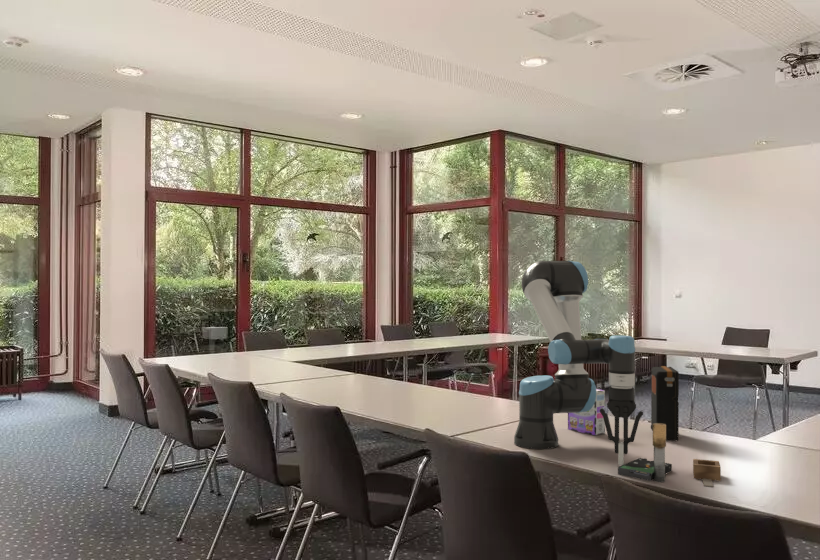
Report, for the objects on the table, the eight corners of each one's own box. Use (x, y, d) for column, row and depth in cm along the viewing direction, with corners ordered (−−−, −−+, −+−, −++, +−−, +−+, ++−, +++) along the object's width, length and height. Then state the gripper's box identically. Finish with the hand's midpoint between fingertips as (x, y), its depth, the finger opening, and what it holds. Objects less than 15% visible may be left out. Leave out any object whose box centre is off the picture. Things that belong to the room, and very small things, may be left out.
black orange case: (681, 441, 243) (681, 371, 243) (655, 440, 245) (656, 370, 245) (673, 432, 258) (673, 366, 258) (649, 431, 260) (649, 365, 260)
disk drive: (639, 466, 212) (617, 475, 201) (639, 457, 212) (617, 466, 201) (672, 472, 205) (651, 482, 194) (672, 463, 205) (651, 473, 194)
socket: (693, 478, 197) (694, 464, 197) (693, 472, 204) (693, 458, 204) (720, 481, 195) (720, 467, 195) (718, 474, 201) (718, 461, 201)
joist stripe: (703, 486, 190) (703, 485, 190) (700, 467, 209) (700, 466, 209) (713, 487, 189) (713, 486, 189) (708, 467, 209) (708, 466, 209)
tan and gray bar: (652, 481, 194) (652, 425, 194) (652, 478, 197) (652, 422, 197) (666, 483, 193) (666, 426, 193) (665, 479, 196) (666, 423, 196)
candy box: (605, 434, 255) (605, 389, 255) (595, 436, 251) (595, 391, 251) (577, 427, 266) (577, 385, 266) (566, 429, 263) (567, 386, 263)
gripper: (598, 387, 206) (597, 465, 207) (643, 389, 202) (643, 469, 202) (600, 383, 214) (599, 459, 214) (644, 386, 209) (644, 463, 209)
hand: (621, 464), depth 208 cm, fingers closed
